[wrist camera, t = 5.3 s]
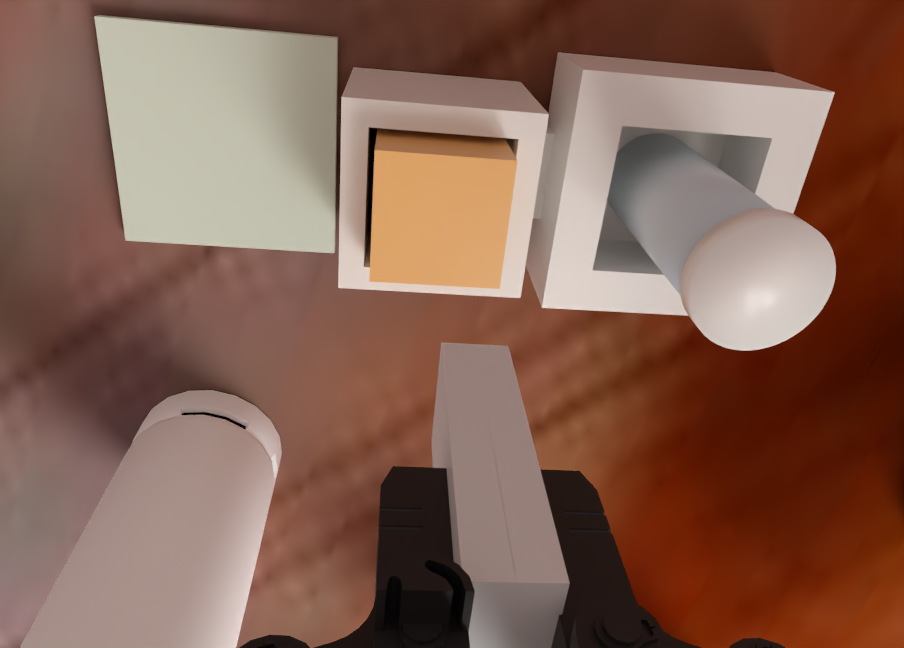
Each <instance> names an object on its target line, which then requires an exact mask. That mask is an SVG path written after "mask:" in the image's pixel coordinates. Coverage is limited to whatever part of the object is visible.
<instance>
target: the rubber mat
mask: <svg viewBox="0 0 904 648" xmlns="http://www.w3.org/2000/svg"><path fill="white" fill-rule="evenodd" d="M94 18H95V25H96V32H97V40H98V47H99V54H100V61H101V68H102V75H103V82H104V90H105V97H106V104H107V111H108V118H109V125H110V133H111V140H112V147H113V154H114V161H115V168H116V175H117V183H118V190H119V197H120V204H121V211H122V218H123V225H124V233H125V240H126V241H141V242H157V243H174V244H190V245H207V246H223V247H240V248H256V249H273V250H289V251H306V252H322V253H334V252H335V229H336V156H337V82H338V37H334V36H323V35H312V34H302V33H291V32H280V31H269V30H258V29H247V28H236V27H225V26H214V25H203V24H192V23H182V22H171V21H160V20H149V19H138V18H127V17H116V16H105V15H98V16H94Z"/></svg>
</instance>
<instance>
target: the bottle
mask: <svg viewBox="0 0 904 648" xmlns="http://www.w3.org/2000/svg"><path fill="white" fill-rule="evenodd" d="M190 412H207V413H211V414H216V415H220V416H225V417H228V418H230V419H232V420H234V421H236V422H238V423H240V424H242V425H244V426H246V430H245V429H243V428H241V427H239V426H237V425H235V424H233V423H231V422H229V421H227V420H225V419H221V418H216V417H212V416H207V415H181V414H182V413H190ZM281 455H282V450H281V443H280V436H279V434H278V433H277V431H276V429H275V427H274V425H273V424H272V422H271V420H270V419H269V418H268V417H267V416H266V415H265V414H264V413H262V412H261V411H260V410H259V409H258V408H257V407H256V406H255V405H253V404H251V403H249V402H247V401H245V400H243V399H241V398H239V397H237V396H235V395H231V394H227V393H223V392H218V391H214V390H196V391H186V392H183V393H180V394H176V395H173V396H170V397H167V398H166V399H165V400H163V401H162V402H160V403H159V404H158V405H156V406H155V407H153V408H152V409H151V411H150V412H149V414H148V415H147V417H146V418H145V420H144V421H143V423H142V425H141V426H140V428H139V430H138V432H137V434H136V436H135V437H134V439H133V442H132V445H131V446H130V448H129V449H128V451H127V452H126V454H125V456H124V458H123V459H122V461H121V463H120V465H119V467H118V469H117V470H116V472H115V474H114V476H113V478H112V480H111V481H110V483H109V485H108V487H107V489H106V491H105V492H104V494H103V496H102V498H101V500H100V502H99V504H98V505H97V507H96V509H95V511H94V513H93V515H92V516H91V518H90V520H89V522H88V524H87V526H86V527H85V529H84V531H83V533H82V535H81V537H80V538H79V540H78V542H77V544H76V546H75V548H74V549H73V551H72V553H71V555H70V557H69V559H68V560H67V562H66V564H65V566H64V568H63V570H62V571H61V573H60V575H59V577H58V579H57V581H56V582H55V584H54V586H53V588H52V590H51V592H50V593H49V595H48V597H47V599H46V601H45V603H44V604H43V606H42V608H41V610H40V612H39V614H38V615H37V617H36V619H35V621H34V623H33V625H32V626H31V628H30V630H29V632H28V634H27V636H26V637H25V639H24V641H23V643H22V645H21V647H20V648H236V645H237V641H238V637H239V633H240V628H241V624H242V620H243V616H244V611H245V607H246V603H247V599H248V595H249V590H250V586H251V582H252V578H253V574H254V569H255V565H256V561H257V557H258V552H259V548H260V544H261V540H262V536H263V531H264V527H265V523H266V519H267V514H268V510H269V506H270V502H271V498H272V493H273V489H274V485H275V479H276V476H277V472H278V468H279V464H280V460H281Z"/></svg>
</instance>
